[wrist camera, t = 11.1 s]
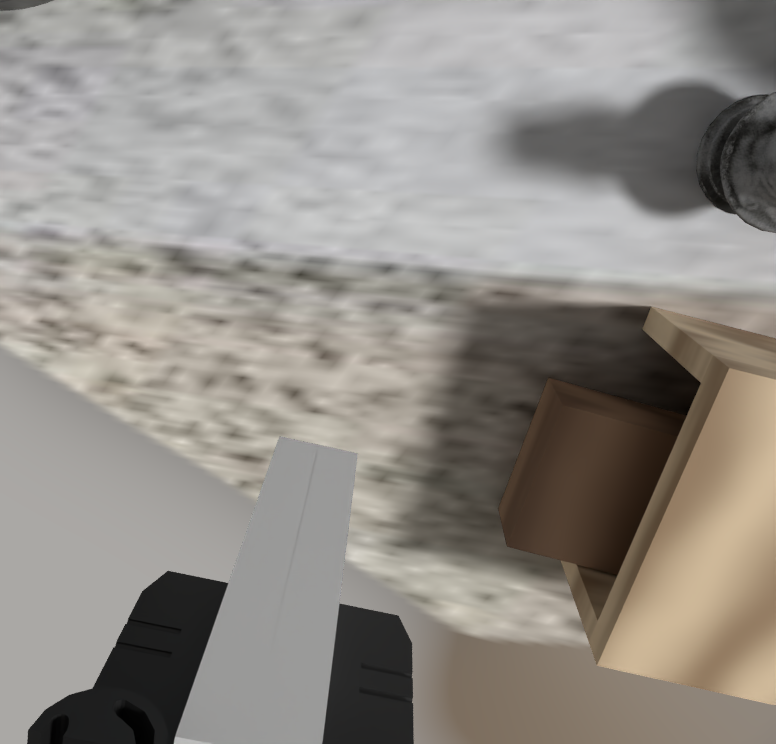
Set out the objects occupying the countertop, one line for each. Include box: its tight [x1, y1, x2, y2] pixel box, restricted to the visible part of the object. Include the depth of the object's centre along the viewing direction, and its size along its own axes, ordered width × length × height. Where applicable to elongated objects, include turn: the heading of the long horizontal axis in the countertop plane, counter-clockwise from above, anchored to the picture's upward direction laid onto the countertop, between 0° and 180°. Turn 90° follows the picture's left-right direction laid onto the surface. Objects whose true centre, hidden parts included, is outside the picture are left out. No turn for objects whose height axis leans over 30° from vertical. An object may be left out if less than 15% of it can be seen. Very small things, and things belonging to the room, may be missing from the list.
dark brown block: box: [498, 378, 687, 575], centre depth 37 cm, size 12×8×4 cm, turn 74°
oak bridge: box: [561, 307, 776, 705], centre depth 33 cm, size 11×14×9 cm
